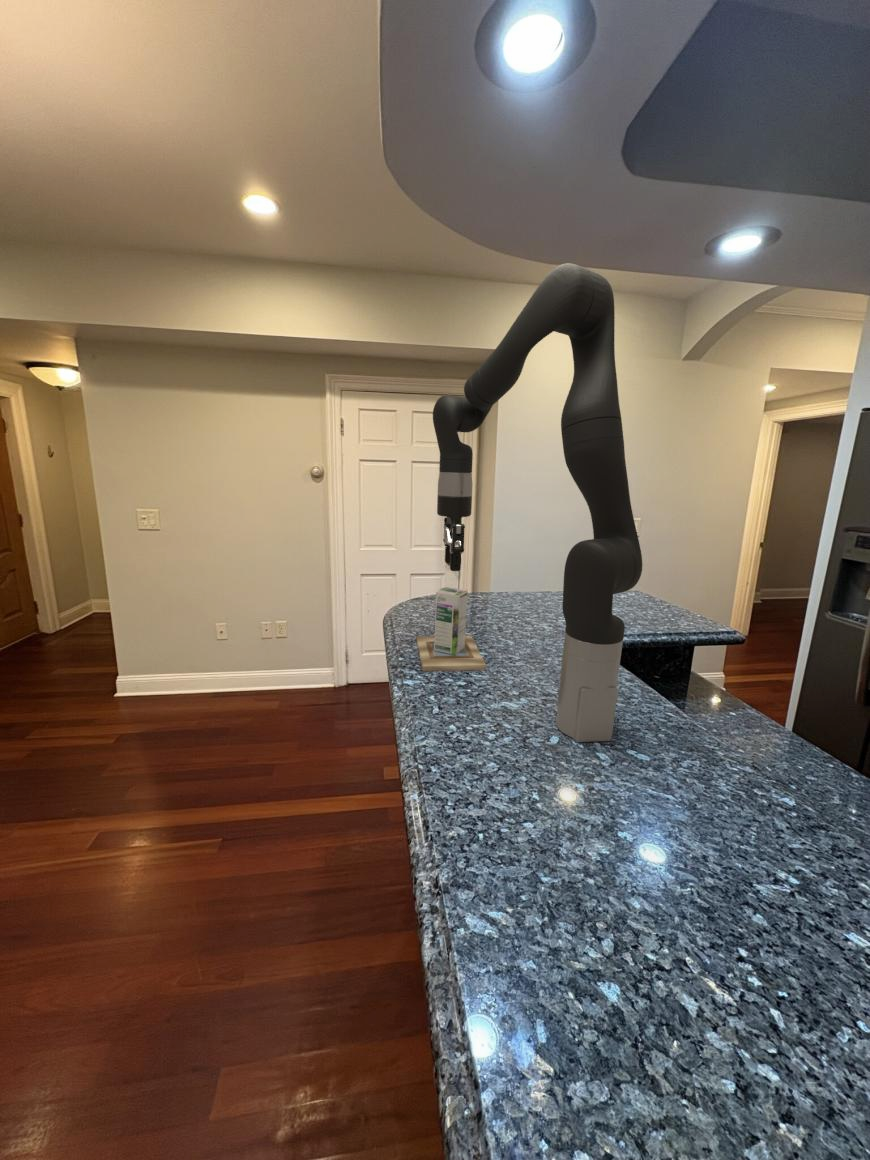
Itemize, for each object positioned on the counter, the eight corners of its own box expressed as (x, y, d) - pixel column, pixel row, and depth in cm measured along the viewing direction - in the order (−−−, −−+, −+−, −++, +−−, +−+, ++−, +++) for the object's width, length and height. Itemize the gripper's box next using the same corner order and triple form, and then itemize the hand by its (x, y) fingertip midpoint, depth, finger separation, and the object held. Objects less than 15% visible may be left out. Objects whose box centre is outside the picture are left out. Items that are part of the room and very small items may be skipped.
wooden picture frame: (486, 670, 105) (486, 664, 105) (422, 671, 104) (422, 665, 103) (470, 640, 123) (471, 635, 122) (416, 640, 121) (416, 635, 121)
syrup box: (433, 651, 112) (434, 590, 108) (443, 642, 117) (446, 585, 113) (455, 656, 109) (458, 594, 106) (465, 647, 114) (468, 588, 111)
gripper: (478, 496, 98) (474, 573, 102) (466, 492, 112) (463, 560, 115) (441, 495, 97) (439, 573, 101) (434, 491, 111) (432, 560, 115)
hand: (452, 566), depth 108 cm, fingers open, 8 cm apart
